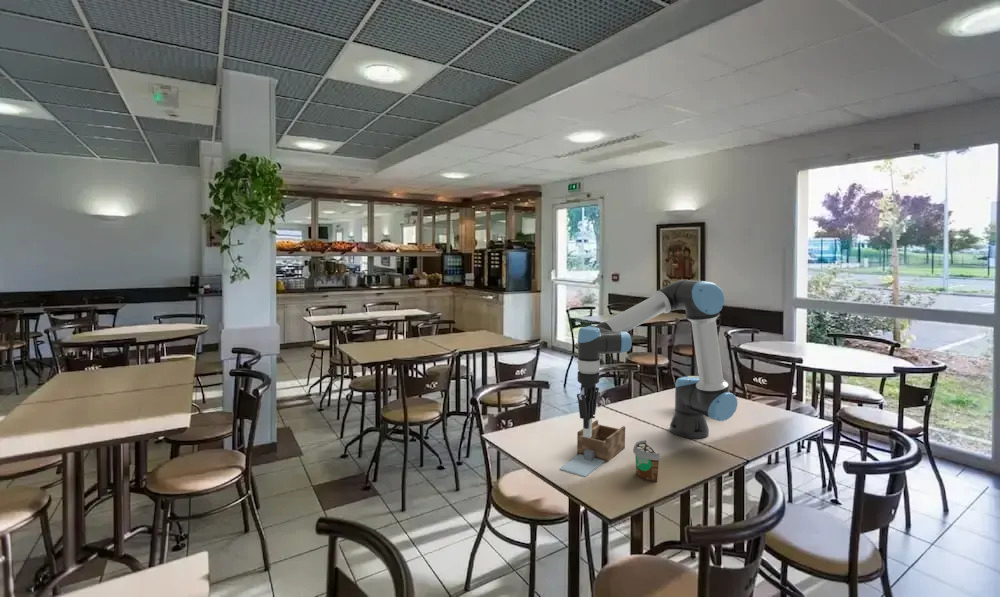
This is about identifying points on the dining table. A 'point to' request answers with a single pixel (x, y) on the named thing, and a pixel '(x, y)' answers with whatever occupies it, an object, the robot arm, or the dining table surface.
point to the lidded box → (602, 441)
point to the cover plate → (582, 464)
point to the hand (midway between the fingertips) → (587, 436)
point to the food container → (646, 462)
